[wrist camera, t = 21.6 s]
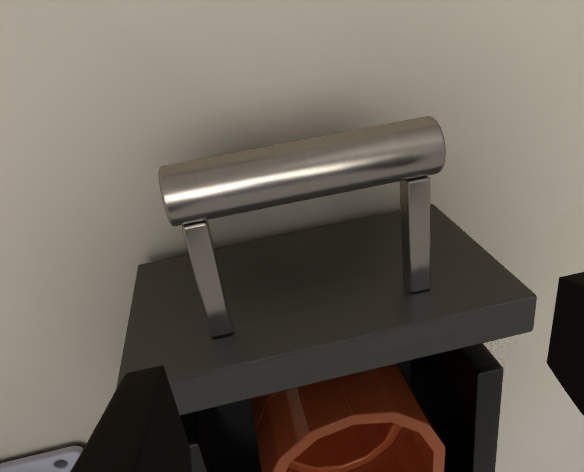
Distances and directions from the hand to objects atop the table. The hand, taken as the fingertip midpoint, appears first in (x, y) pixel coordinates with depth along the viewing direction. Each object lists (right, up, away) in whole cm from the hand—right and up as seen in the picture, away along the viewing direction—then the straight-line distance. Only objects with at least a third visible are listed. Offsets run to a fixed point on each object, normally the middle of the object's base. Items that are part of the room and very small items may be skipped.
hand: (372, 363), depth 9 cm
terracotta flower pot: (0, -3, +10) cm, 11 cm away
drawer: (-1, -1, +11) cm, 11 cm away
